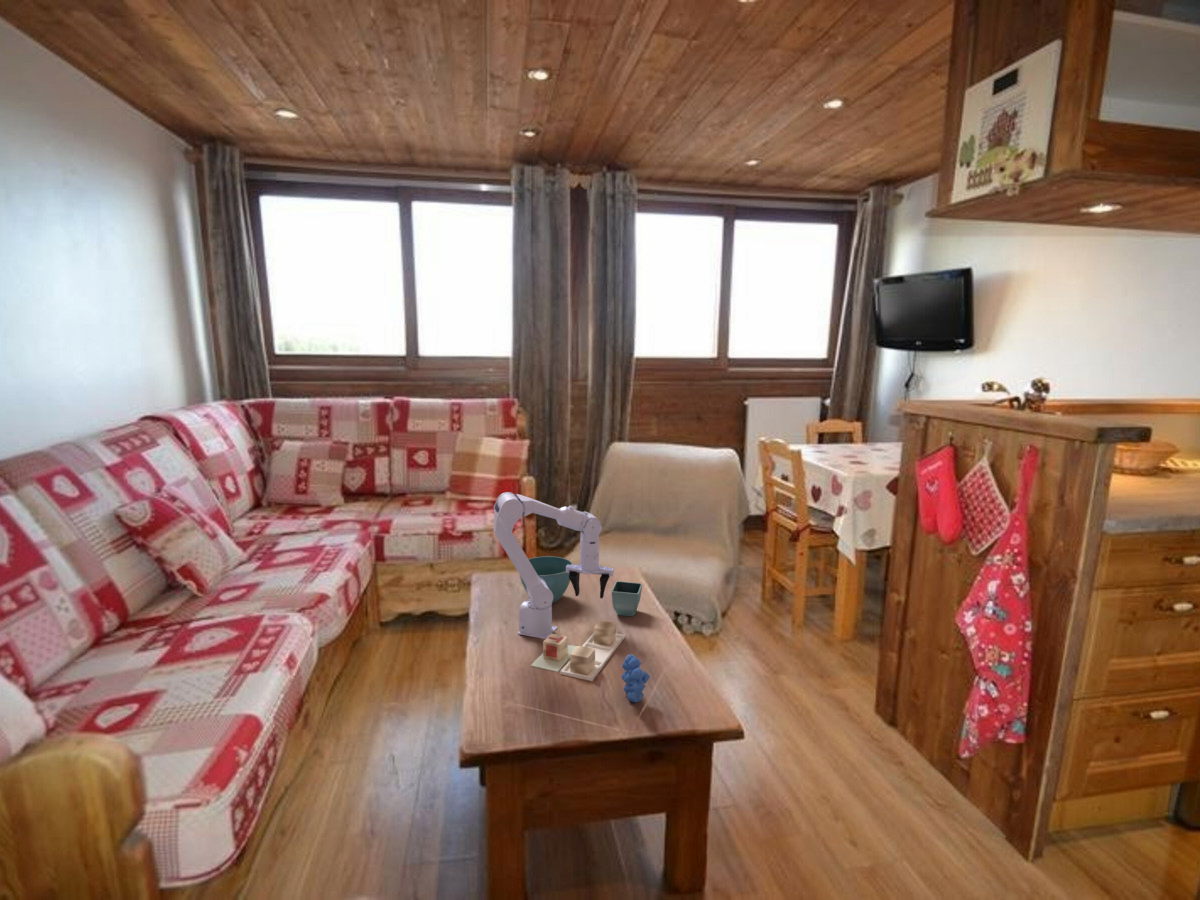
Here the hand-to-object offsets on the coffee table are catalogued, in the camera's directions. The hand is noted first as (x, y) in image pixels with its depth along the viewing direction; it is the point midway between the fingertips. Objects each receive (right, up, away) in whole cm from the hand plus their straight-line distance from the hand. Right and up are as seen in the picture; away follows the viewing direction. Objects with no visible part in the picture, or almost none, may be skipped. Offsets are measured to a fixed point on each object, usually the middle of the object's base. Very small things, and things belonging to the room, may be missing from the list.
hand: (589, 596), depth 183 cm
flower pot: (+12, -8, +10) cm, 17 cm away
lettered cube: (-9, -12, -18) cm, 24 cm away
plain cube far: (+5, -11, -10) cm, 15 cm away
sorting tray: (+2, -12, -17) cm, 21 cm away
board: (-9, -13, -18) cm, 24 cm away
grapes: (+12, -16, -38) cm, 43 cm away
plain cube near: (-1, -13, -25) cm, 28 cm away
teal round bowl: (-15, -6, +20) cm, 26 cm away
